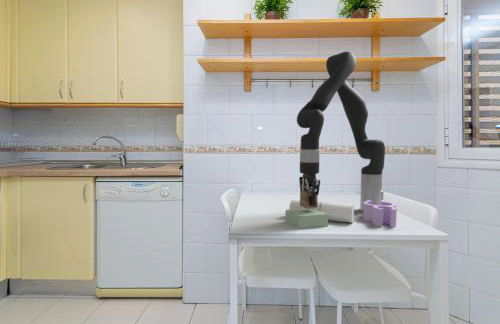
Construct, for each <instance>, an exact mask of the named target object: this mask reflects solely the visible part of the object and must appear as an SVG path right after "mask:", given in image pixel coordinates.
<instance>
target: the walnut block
mask: <svg viewBox="0 0 500 324" xmlns="http://www.w3.org/2000/svg"><path fill="white" fill-rule="evenodd" d="M311 192H312V190H311ZM318 197H319V194H318V195H316V196H315V205H314V206H310V205H309V191H308V190H307V191H300V190H299V200H300V206H302V207H304V208H316V207H317V202H318Z"/></svg>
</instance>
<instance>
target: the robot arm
mask: <svg viewBox="0 0 500 324" xmlns="http://www.w3.org/2000/svg"><path fill="white" fill-rule="evenodd" d="M325 65H326V70H327V71H326V72H327V75H329V77H328V78H327V79H326V80H325V81H324V82H323V83H321V84H320V86H319V87H318V88H317V89H316V91H315V92H314V94H313V95H312V98H311V99H310V100H309V101H308V102H307V103H306V104H305V105H304V106H303V107H302V108H301V109H300V110H299V112H298V114H297V117H296V123H297V125H298V127H300V128H302V129H308V132H307V133H305V134H302V135H301V137H300V152H299V153H300V154H299V174H302V176H299V177H298V181H299V192H300V191H307V190H308V191H309V205H310V206H314V205H315V196H316V195H318V196H319V193H320V186H321V180H320V179H318V178H317V174H319V173H320V137H321V134H322V130H323V126H324V122H325V117H324V113H323V112H325V110H326V109H327V108H328V106H329V105H330V103H331V102H332V99H333V98H334V96H335V94H336V93H337V94H338V97H339V99H340V102H341V104H342V108H343V110H344V113H345V116H346V118H347V121H348V123H349V126H350V129H351V132H352V134H353V138H354V142H355V143H354V144H355V147H356V151H357V152H358V153H357V154H358V155H359V157H360V158H361V159H363V160H369V163H368V164H367V165H366V166H363V167H361V169H360V197H359V198H360V201H359V202H360V205H359V208H360V209H359V210H360V211H362V212H363V204H364V202H365V201H366V200H370V201H373V205H381V201H384V190H382V189H383V170H384V168H385V157H386V145H385V143H384V142H383V140H381V139H369V138H368V135H367V133H366V125H367V121H368V117H369V112H368V108H367V104H366V102H365V99H364V98H363V97H362V95H361V94H359V92H358V91H356V90H355V89H354V88H353V87H352V86H351V84H349V83H348V81H347V79H348V78H349V77H350V75H352V73H353V72H354V70H355V69H356V66H357V59H356V56H355V55H354V54H353V53H352V52H351V51H343V52H339V53H336V54H333V55H331V56H329V57H328V58H327V59H326V62H325ZM311 190H312V192H311Z"/></svg>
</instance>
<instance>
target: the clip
mask: <svg viewBox="0 0 500 324" xmlns="http://www.w3.org/2000/svg"><path fill="white" fill-rule="evenodd" d="M397 211H398V209H397V204H396V203H394V202H391V201H386V200H383V201H381V205H373V201H370V200H366V201H365V202H364V204H363V211H362V213H363V214H362V216H363V217H362V219H363V220H364V221H366V222H369V223H370V222H371V223H372V225H373V226H375V227H379V228H383V226H384V224H386V223H387V224H388V225H389V228H396V227H397Z"/></svg>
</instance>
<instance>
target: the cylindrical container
mask: <svg viewBox="0 0 500 324" xmlns="http://www.w3.org/2000/svg"><path fill="white" fill-rule="evenodd" d="M291 209H315V210H318V211H321V212H324V213H326V214H328V222H329V221H330V222H337V223H338V222H339V223H350V224H353V223H354V216H355V205H354V204H350V203H349V204H348V203H335V202H324V201H317V207H316V208H304V207H302V206H300V199H299V200H298V199H291V201H290V203H289V209H288V210H291Z"/></svg>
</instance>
